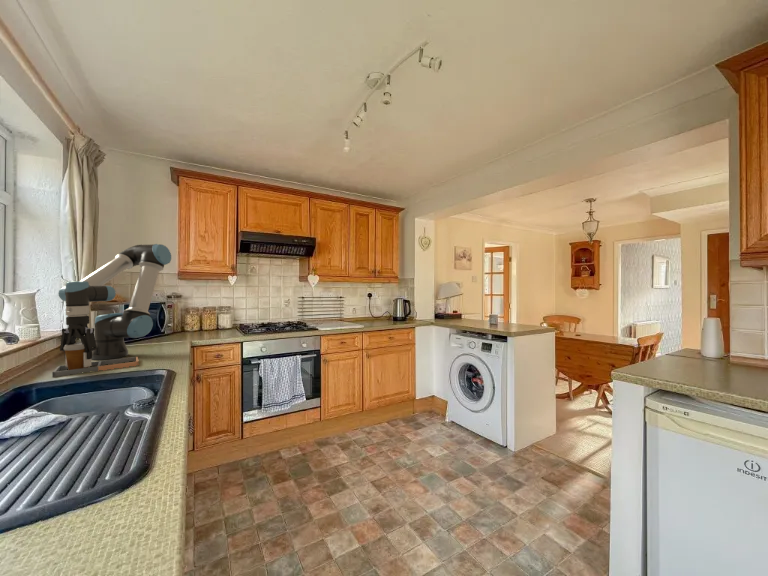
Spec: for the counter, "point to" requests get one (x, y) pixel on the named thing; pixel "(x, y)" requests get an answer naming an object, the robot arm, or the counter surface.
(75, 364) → the disposable coffee cup
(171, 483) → the counter surface
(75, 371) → the cup carrier
